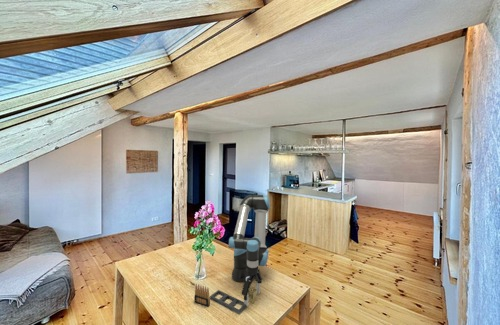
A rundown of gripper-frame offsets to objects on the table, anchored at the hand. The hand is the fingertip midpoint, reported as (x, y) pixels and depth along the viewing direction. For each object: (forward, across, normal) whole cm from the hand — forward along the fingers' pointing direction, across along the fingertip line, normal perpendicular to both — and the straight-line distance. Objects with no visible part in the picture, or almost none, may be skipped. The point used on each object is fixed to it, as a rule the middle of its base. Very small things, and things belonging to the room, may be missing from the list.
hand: (252, 298), depth 130 cm
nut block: (+2, 0, 0) cm, 2 cm away
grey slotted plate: (+2, +10, -12) cm, 16 cm away
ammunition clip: (+2, +20, -25) cm, 32 cm away
